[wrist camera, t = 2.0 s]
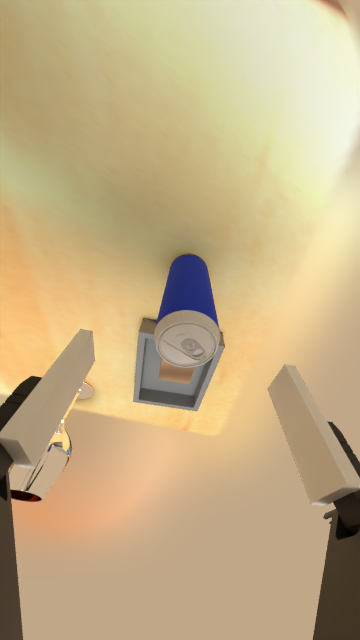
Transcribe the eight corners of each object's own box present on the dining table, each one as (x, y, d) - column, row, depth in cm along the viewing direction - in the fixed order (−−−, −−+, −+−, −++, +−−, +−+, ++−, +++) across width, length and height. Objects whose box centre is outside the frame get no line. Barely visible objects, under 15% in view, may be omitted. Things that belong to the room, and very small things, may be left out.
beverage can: (161, 271, 27) (137, 344, 15) (189, 244, 25) (188, 303, 13) (187, 295, 29) (185, 378, 17) (215, 272, 27) (236, 348, 15)
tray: (143, 318, 32) (138, 331, 29) (221, 332, 33) (224, 346, 30) (137, 386, 42) (133, 401, 39) (196, 395, 43) (197, 411, 40)
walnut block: (165, 335, 32) (162, 357, 28) (195, 340, 33) (196, 362, 29) (161, 356, 35) (158, 379, 31) (189, 360, 36) (189, 384, 31)
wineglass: (103, 399, 45) (61, 504, 30) (70, 401, 46) (14, 503, 31) (88, 375, 41) (30, 486, 26) (52, 378, 42) (-24, 486, 27)
